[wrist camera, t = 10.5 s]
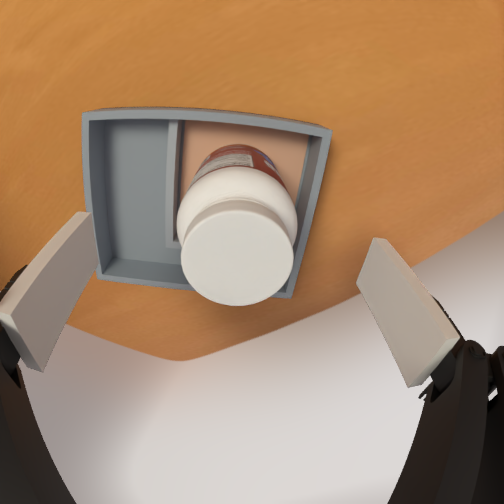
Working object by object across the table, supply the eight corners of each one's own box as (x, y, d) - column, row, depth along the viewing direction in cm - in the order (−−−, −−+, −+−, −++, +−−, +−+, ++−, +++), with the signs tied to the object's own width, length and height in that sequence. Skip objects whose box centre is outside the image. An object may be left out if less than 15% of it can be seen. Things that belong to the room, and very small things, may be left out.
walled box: (110, 257, 25) (97, 279, 22) (103, 108, 18) (82, 112, 15) (285, 274, 27) (291, 298, 24) (318, 124, 20) (332, 130, 17)
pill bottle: (282, 211, 22) (315, 307, 13) (207, 225, 23) (188, 326, 13) (271, 135, 19) (306, 179, 10) (188, 151, 19) (141, 210, 10)
